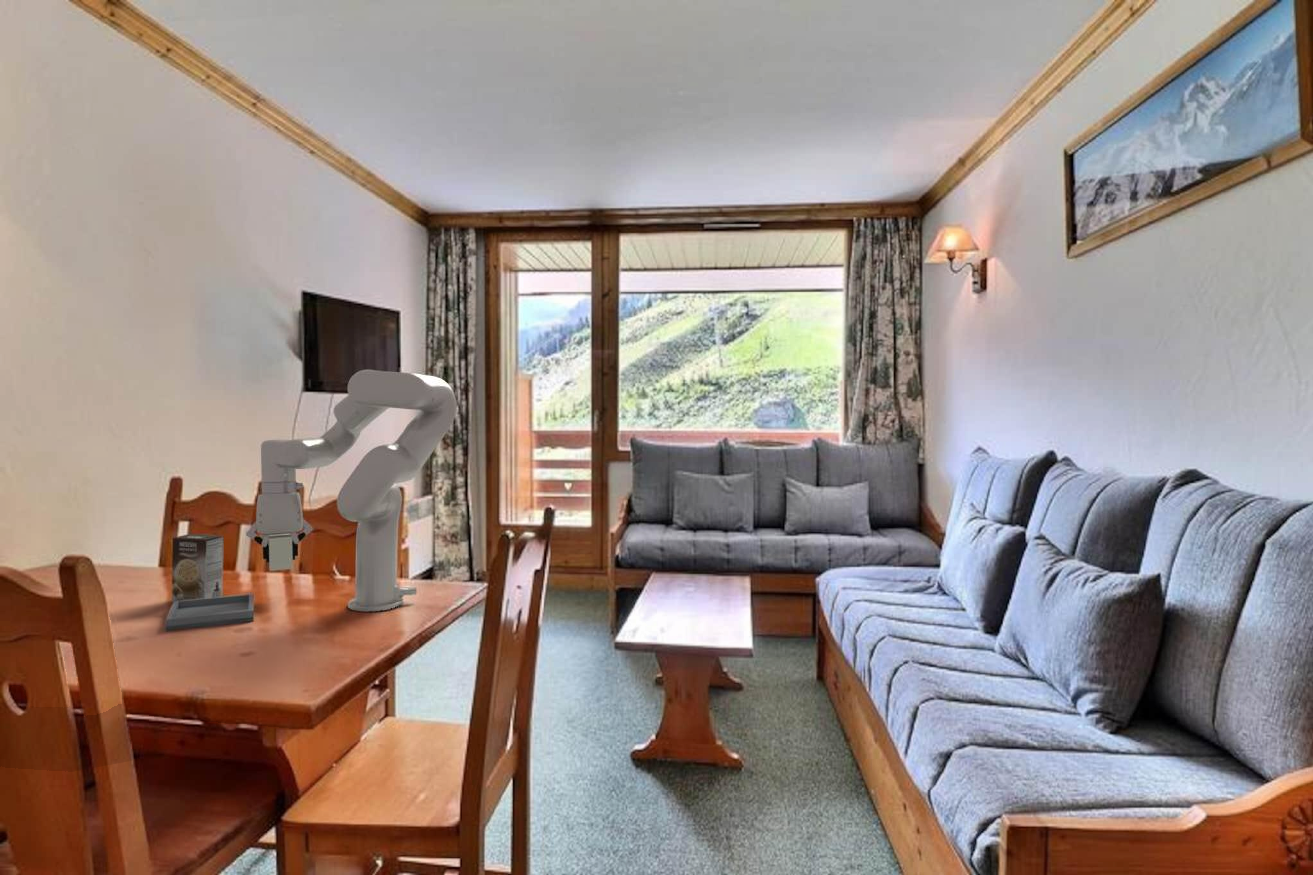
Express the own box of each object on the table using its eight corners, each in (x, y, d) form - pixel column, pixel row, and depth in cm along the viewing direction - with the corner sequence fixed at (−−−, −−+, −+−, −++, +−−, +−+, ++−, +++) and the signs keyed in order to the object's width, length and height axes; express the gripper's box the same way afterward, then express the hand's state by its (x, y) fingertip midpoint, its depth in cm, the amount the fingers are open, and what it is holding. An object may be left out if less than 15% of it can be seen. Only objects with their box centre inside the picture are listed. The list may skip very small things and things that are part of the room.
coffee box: (169, 602, 162) (170, 537, 161) (190, 595, 168) (191, 533, 168) (204, 604, 161) (205, 539, 160) (224, 597, 167) (224, 534, 167)
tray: (253, 603, 163) (253, 593, 163) (253, 621, 149) (253, 610, 149) (173, 611, 155) (173, 601, 155) (165, 631, 141) (165, 619, 141)
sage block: (291, 564, 171) (291, 533, 171) (292, 568, 166) (292, 536, 165) (269, 566, 168) (268, 535, 168) (269, 571, 163) (268, 538, 163)
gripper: (315, 485, 174) (317, 554, 174) (239, 489, 165) (241, 561, 166) (318, 487, 168) (319, 559, 168) (238, 491, 159) (240, 567, 159)
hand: (280, 559), depth 167 cm, fingers closed on sage block, 5 cm apart
